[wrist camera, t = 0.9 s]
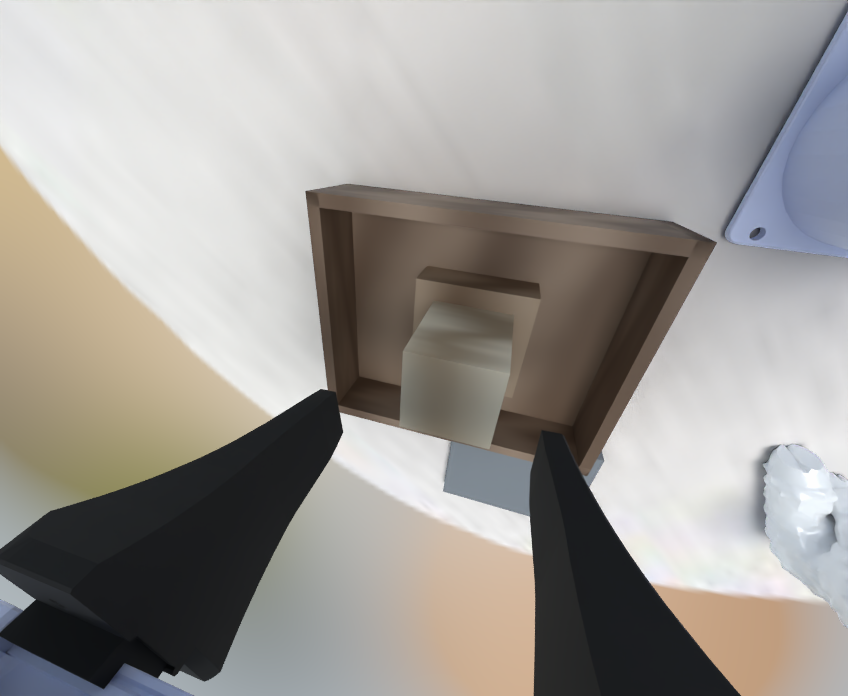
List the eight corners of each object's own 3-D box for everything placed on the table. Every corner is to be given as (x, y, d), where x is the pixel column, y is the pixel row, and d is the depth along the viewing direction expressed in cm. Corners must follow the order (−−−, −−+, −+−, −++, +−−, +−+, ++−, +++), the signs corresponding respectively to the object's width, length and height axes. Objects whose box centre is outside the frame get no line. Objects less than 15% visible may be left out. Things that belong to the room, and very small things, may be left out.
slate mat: (601, 449, 22) (604, 460, 21) (564, 515, 26) (566, 526, 25) (457, 414, 24) (454, 423, 23) (445, 481, 28) (443, 491, 27)
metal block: (513, 315, 16) (510, 373, 11) (497, 380, 18) (489, 449, 14) (433, 300, 16) (402, 351, 12) (427, 364, 18) (399, 426, 14)
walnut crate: (673, 222, 14) (717, 242, 11) (577, 426, 21) (587, 476, 18) (347, 183, 17) (305, 191, 14) (356, 374, 24) (330, 409, 21)
